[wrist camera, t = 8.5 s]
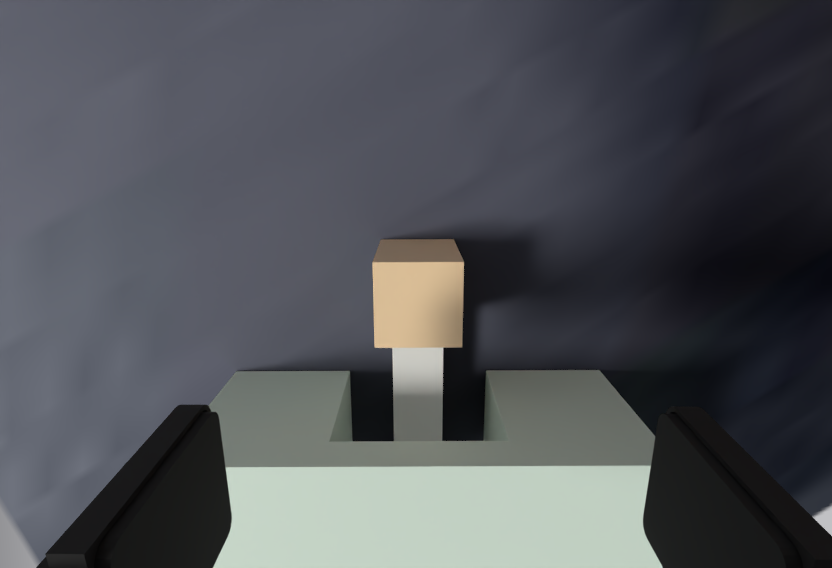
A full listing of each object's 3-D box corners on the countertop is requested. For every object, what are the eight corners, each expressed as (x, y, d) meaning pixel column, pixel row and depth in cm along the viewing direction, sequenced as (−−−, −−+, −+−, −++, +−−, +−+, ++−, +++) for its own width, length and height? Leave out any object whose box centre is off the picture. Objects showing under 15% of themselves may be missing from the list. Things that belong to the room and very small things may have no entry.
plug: (368, 239, 21) (357, 262, 17) (465, 239, 21) (479, 261, 17) (376, 526, 24) (368, 605, 20) (459, 525, 24) (469, 605, 20)
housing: (236, 371, 22) (158, 467, 16) (599, 370, 22) (679, 465, 16) (244, 451, 23) (174, 574, 17) (591, 450, 23) (663, 572, 17)
